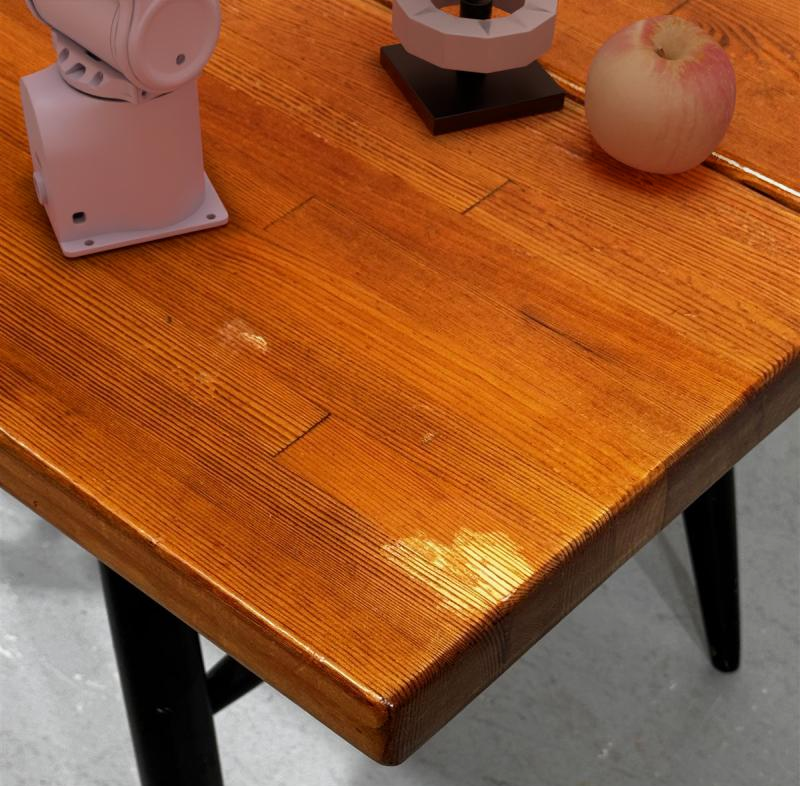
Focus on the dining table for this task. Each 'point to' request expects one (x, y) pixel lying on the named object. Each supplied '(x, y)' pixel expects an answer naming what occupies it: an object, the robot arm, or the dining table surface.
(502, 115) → the black peg stand
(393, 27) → the tape roll
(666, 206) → the dining table surface
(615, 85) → the apple
